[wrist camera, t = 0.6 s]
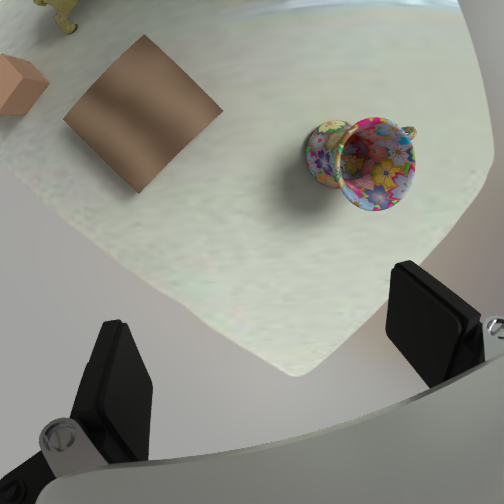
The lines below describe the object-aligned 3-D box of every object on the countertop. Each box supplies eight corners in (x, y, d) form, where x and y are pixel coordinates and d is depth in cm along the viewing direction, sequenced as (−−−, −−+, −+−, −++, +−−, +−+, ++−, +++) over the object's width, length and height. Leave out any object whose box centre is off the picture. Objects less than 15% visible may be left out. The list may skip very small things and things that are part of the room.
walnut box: (150, 45, 30) (144, 34, 25) (219, 113, 34) (223, 111, 30) (78, 119, 31) (63, 119, 27) (146, 185, 36) (138, 193, 31)
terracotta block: (29, 61, 26) (2, 53, 20) (50, 83, 28) (23, 77, 22) (6, 92, 27) (-24, 90, 21) (25, 114, 29) (-4, 115, 23)
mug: (323, 203, 40) (362, 229, 30) (286, 141, 36) (318, 148, 27) (392, 155, 39) (442, 168, 29) (361, 95, 35) (410, 90, 26)
